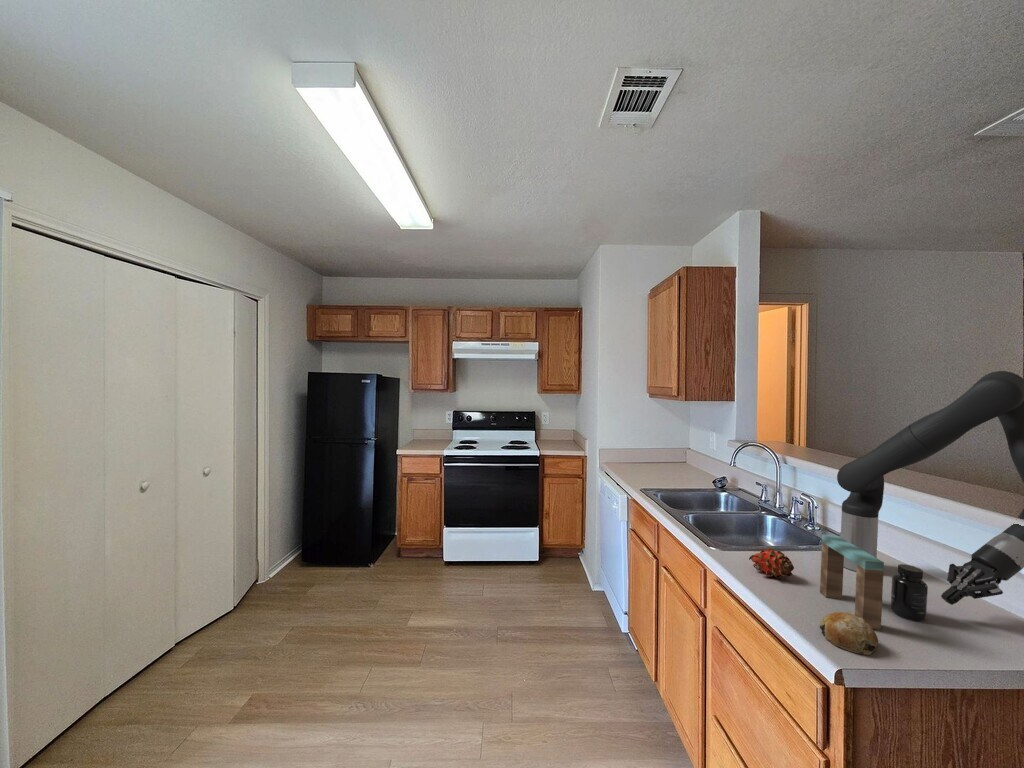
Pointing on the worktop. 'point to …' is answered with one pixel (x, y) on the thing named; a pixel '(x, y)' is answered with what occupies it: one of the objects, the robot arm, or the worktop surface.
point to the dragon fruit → (772, 563)
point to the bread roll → (849, 633)
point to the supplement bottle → (909, 593)
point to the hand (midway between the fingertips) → (946, 600)
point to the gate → (866, 577)
